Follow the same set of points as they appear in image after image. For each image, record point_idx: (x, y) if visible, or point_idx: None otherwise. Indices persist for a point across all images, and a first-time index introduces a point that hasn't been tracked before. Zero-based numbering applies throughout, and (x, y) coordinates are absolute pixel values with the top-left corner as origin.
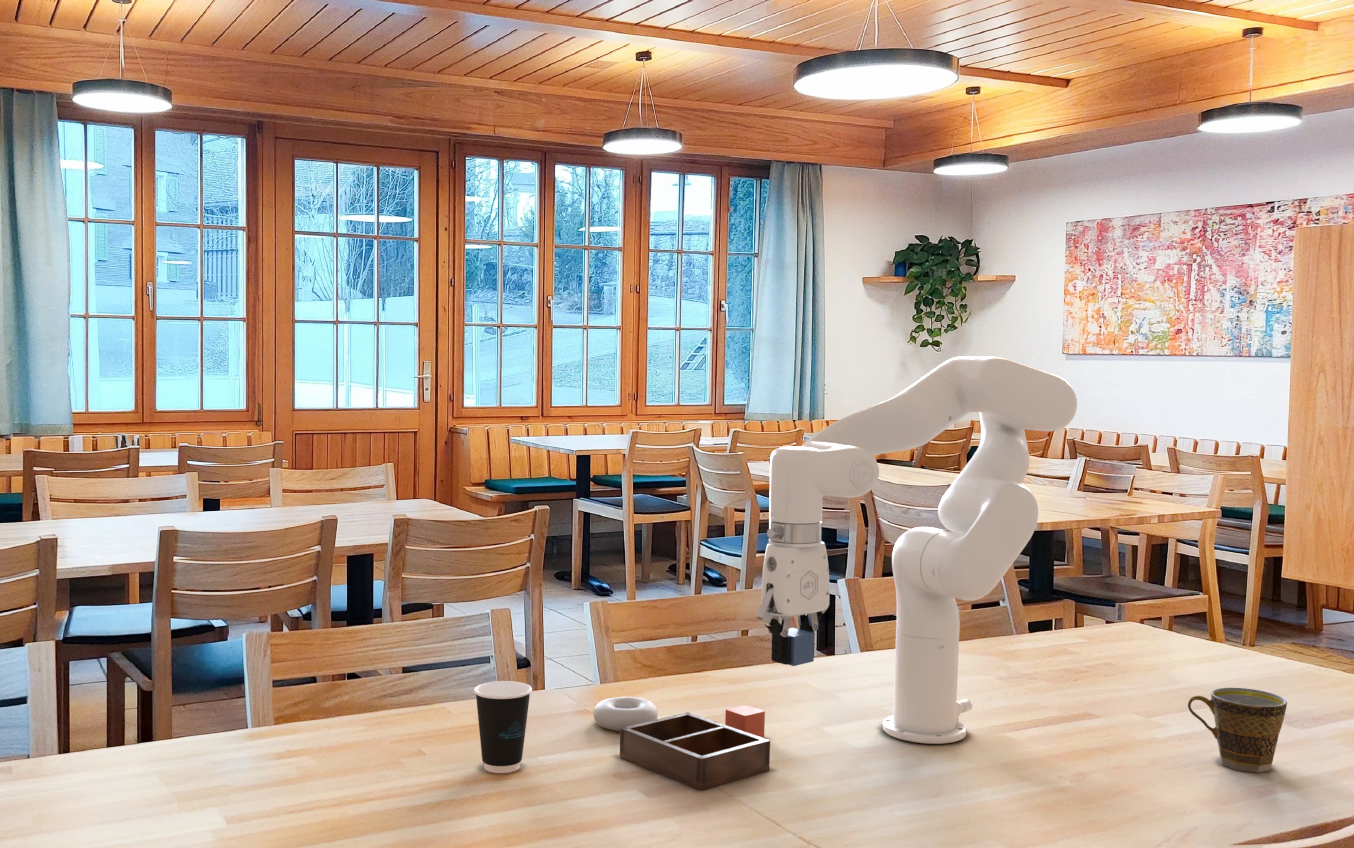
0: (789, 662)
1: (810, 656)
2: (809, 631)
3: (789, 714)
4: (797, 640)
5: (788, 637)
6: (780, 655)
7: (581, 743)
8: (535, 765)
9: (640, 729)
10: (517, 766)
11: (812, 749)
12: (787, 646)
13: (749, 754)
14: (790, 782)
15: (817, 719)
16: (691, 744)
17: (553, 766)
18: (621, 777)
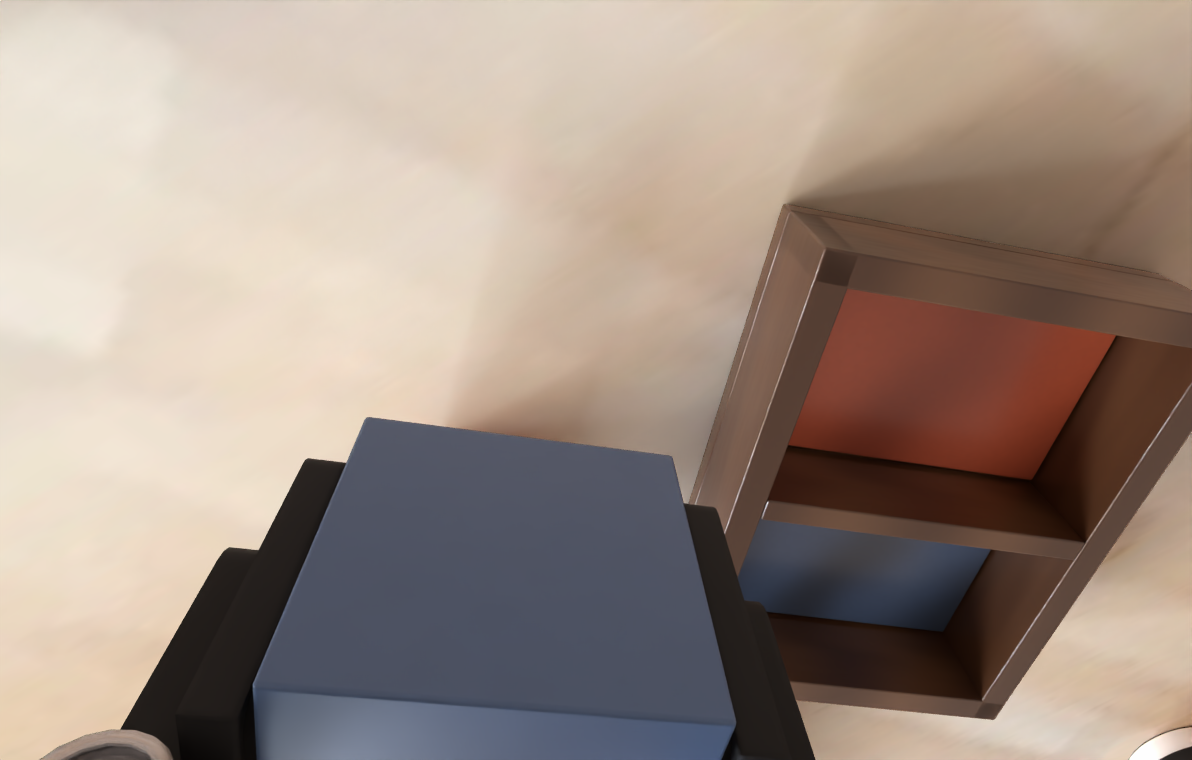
0: (691, 508)
1: (409, 457)
2: (236, 757)
3: (95, 533)
4: (654, 661)
5: (790, 755)
6: (766, 612)
7: (884, 752)
8: (1123, 722)
9: (929, 684)
10: (1188, 736)
11: (394, 215)
12: (752, 653)
13: (949, 257)
14: (884, 27)
15: (29, 425)
16: (938, 502)
17: (1111, 693)
18: (1127, 531)
